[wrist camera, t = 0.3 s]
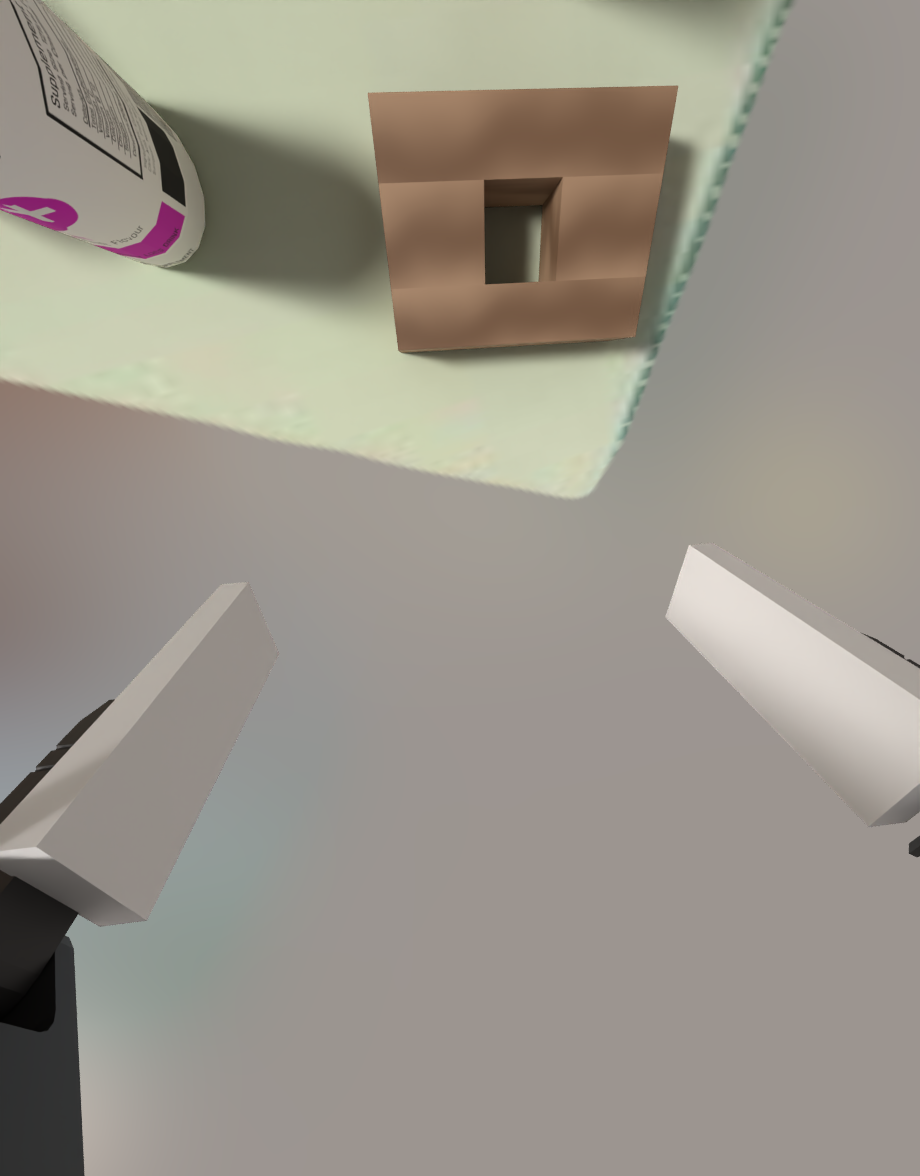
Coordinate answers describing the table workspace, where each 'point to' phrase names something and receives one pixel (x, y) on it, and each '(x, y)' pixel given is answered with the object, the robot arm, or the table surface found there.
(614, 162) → the hole block
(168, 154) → the supplement can
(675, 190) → the table surface
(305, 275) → the table surface
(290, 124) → the table surface
